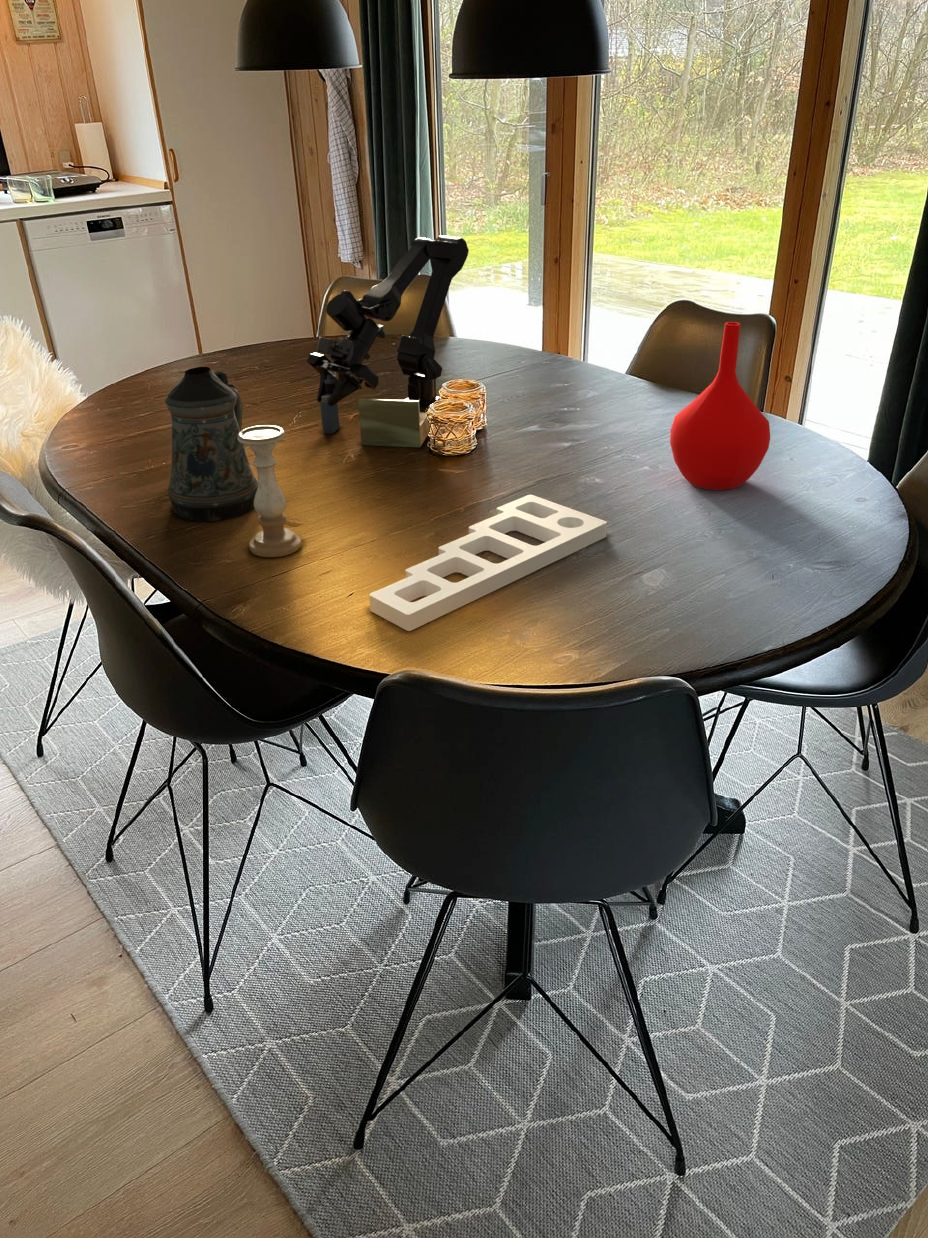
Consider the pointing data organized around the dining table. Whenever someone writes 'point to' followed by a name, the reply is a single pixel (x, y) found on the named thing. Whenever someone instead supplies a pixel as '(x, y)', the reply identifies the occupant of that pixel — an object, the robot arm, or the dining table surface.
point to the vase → (720, 428)
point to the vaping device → (329, 408)
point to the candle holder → (268, 495)
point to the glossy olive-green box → (392, 423)
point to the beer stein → (208, 449)
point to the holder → (525, 515)
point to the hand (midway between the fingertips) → (324, 403)
